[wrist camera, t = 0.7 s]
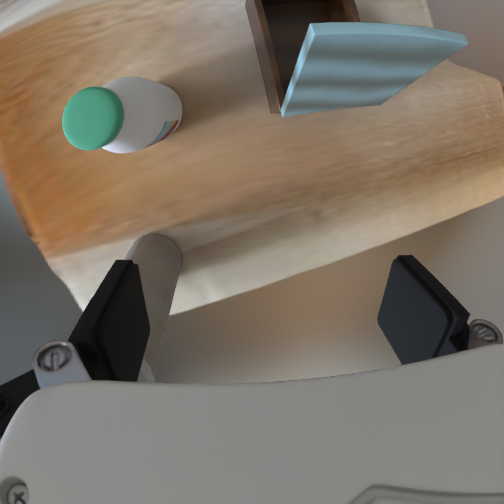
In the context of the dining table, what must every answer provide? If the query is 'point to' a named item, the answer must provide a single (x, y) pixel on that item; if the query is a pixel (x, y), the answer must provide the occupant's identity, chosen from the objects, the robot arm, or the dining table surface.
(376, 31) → the light blue flat slab
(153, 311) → the thermos bottle
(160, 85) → the milk bottle
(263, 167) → the dining table surface
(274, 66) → the brown wooden box
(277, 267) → the dining table surface
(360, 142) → the dining table surface
